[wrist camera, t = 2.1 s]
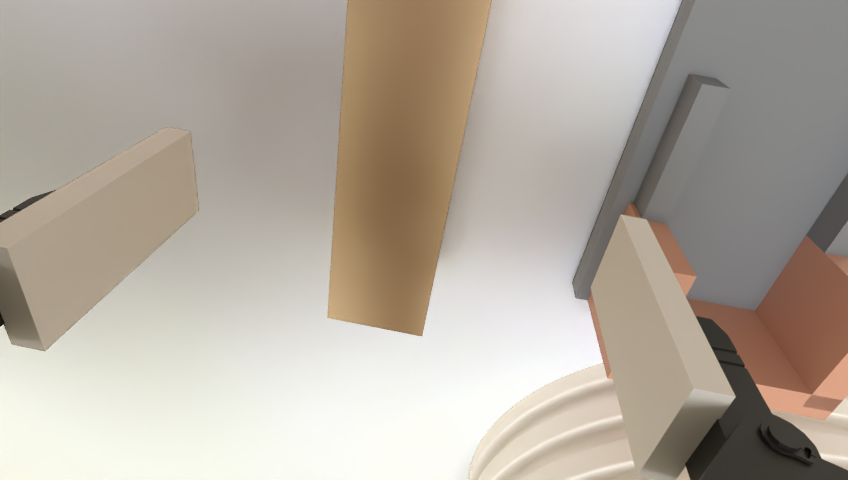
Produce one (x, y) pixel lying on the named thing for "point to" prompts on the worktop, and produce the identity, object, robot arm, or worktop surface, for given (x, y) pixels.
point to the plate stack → (598, 434)
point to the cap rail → (749, 188)
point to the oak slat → (399, 152)
